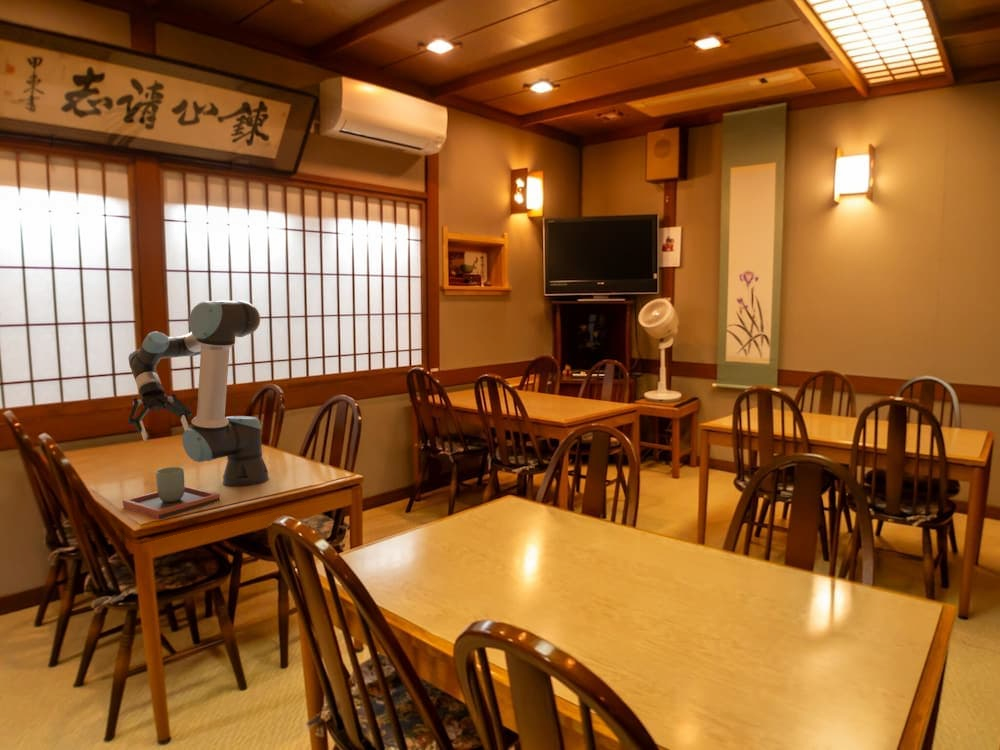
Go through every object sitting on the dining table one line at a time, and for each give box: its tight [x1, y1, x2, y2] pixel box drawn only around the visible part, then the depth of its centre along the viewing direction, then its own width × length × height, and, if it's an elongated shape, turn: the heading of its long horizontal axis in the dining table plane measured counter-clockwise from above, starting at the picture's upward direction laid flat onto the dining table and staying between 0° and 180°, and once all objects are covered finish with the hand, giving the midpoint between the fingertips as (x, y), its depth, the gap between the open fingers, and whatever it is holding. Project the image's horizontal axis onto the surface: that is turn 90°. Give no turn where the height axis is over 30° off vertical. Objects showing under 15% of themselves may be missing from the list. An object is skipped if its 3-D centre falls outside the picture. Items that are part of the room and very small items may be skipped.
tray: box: [122, 484, 221, 520], centre depth 210 cm, size 20×20×2 cm
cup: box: [155, 466, 186, 503], centre depth 209 cm, size 8×8×10 cm
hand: (167, 435), depth 227 cm, fingers open, 13 cm apart
